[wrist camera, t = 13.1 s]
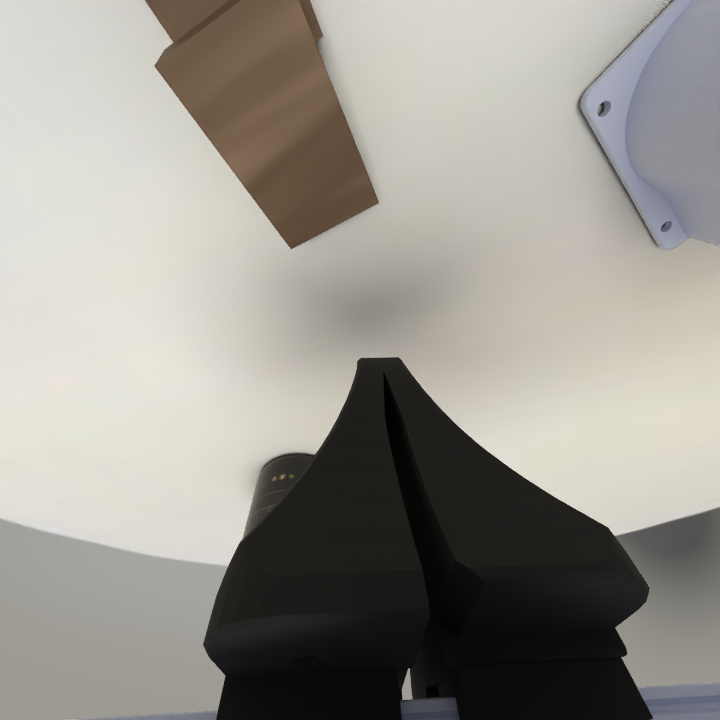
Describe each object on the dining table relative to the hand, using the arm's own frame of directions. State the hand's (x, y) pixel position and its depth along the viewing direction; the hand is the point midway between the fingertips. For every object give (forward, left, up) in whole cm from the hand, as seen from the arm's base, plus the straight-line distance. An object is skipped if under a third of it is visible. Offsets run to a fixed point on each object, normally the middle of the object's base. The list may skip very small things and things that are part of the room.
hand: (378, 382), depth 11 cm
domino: (+4, -2, -8) cm, 9 cm away
